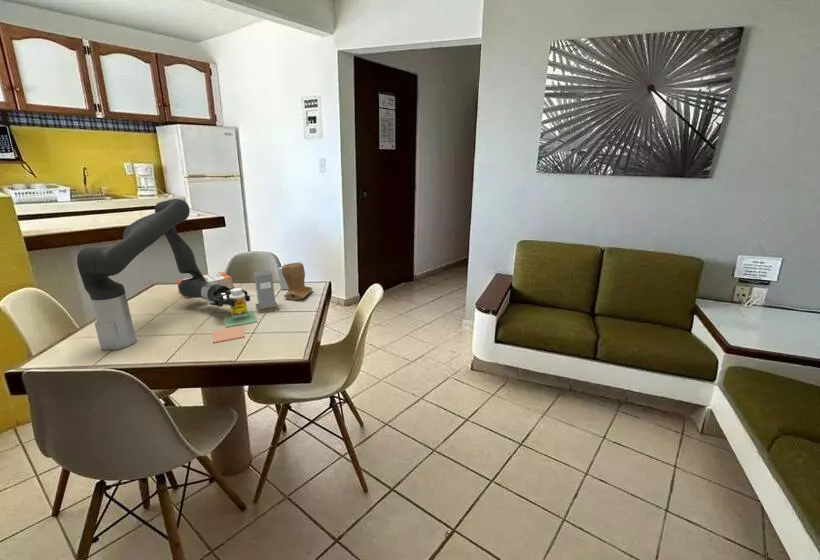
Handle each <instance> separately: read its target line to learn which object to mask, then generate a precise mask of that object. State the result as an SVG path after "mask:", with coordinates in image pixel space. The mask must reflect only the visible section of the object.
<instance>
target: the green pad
mask: <svg viewBox="0 0 820 560" xmlns="http://www.w3.org/2000/svg"><path fill="white" fill-rule="evenodd" d="M223 319H224V325H225V329H228V328H233V327H239V326H243V325H251V324H255V323H258V320H257V319H258V318H257V317H256V313H255V311H249V312H247V314H246V315H244V316H241V317H234V316H232V314H231V315H226V316H224V317H223Z"/></svg>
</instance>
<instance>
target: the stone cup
mask: <svg viewBox="0 0 820 560" xmlns="http://www.w3.org/2000/svg"><path fill="white" fill-rule="evenodd" d="M281 266H282V274H283V277H284V278H285V280H286V283H287V285H288V287H289V290H287V292H286V293H285V294H284V295H283V296H284V297H285V298H286V299H287V300H290V301H298V300H299V301H300V300H302V299H303V298H305V297H306V296H307V295H308V294H310V293H311V292H312V291H313V287H311V286H306V285H305V278H306V271H305V267H304V264H303V263H302V262H300V261H299V262H292V263H287V264H283V265H281ZM285 298H284V299H285Z"/></svg>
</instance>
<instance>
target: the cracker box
mask: <svg viewBox="0 0 820 560" xmlns="http://www.w3.org/2000/svg"><path fill="white" fill-rule="evenodd" d="M202 275H203V274H202ZM203 277H204V278H205V280H206V281H207V282H211V283H216V284H220V285H223V286H226V287H228V288H229V289H230V290H231V289H234V288H235V287H234V281H233V277H232V276H231V275H229V274H227V273H225V272H224V271H223V272H222V271H221V272H214V273H209V274H204V275H203ZM189 278H190V277H188V278H181V279H177V280H176V284H177V287H178V286H179V283H180V282H181V281H183V280H185V279H189ZM191 278H193V277H192V276H191ZM178 292H179V293H180V291H179V290H178ZM184 297H185V298H186V299H188V298H190V297H186V296H184Z"/></svg>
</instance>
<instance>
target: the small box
mask: <svg viewBox="0 0 820 560" xmlns="http://www.w3.org/2000/svg"><path fill="white" fill-rule="evenodd" d="M282 266H283V265H281V266H280V267H279V268H277V271H278V279H279V287H280V290H281V289H282V290H281V291H284V290H283V289H289V287H288V285H287V283H286V280H285V278H284V277H283V274H282Z"/></svg>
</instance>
